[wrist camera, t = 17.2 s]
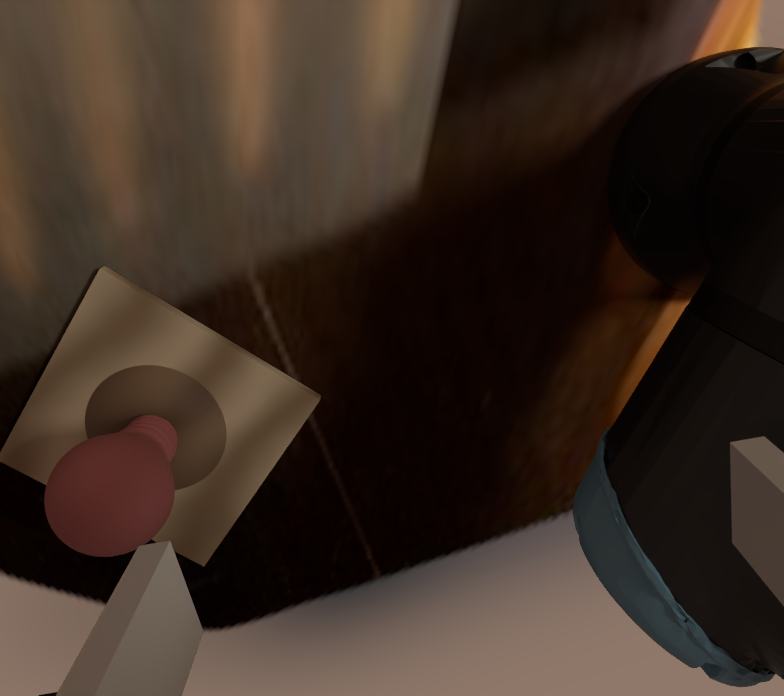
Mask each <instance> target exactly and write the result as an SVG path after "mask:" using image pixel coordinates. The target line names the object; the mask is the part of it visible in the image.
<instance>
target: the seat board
mask: <svg viewBox="0 0 784 696" xmlns="http://www.w3.org/2000/svg"><path fill="white" fill-rule="evenodd" d="M320 398H321V395H320V394H318V393H316V392H315V391H313V390H311V389H310V388H308V387H306V386H305V385H303V384H301V383H300V382H298V381H296V380H295V379H293V378H291V377H290V376H288V375H286V374H285V373H283V372H281V371H280V370H278V369H276V368H275V367H273V366H271V365H270V364H268V363H266V362H265V361H263V360H261V359H260V358H258V357H256V356H255V355H253V354H251V353H250V352H248V351H246V350H245V349H243V348H241V347H240V346H238V345H236V344H234V343H233V342H231V341H229V340H228V339H226V338H224V337H223V336H221V335H219V334H218V333H216V332H214V331H213V330H211V329H209V328H208V327H206V326H204V325H203V324H201V323H199V322H198V321H196V320H194V319H193V318H191V317H189V316H188V315H186V314H184V313H183V312H181V311H179V310H178V309H176V308H174V307H173V306H171V305H169V304H168V303H166V302H164V301H163V300H161V299H159V298H158V297H156V296H154V295H153V294H151V293H149V292H148V291H146V290H144V289H143V288H141V287H139V286H138V285H136V284H134V283H133V282H131V281H129V280H128V279H126V278H124V277H123V276H121V275H119V274H118V273H116V272H114V271H113V270H111V269H109V268H108V267H106V266H103V267H102V268H100V269H99V271H98V273H97V275H96V277H95V278H94V280H93V282H92V284H91V286H90V288H89V289H88V291H87V293H86V295H85V297H84V299H83V301H82V302H81V304H80V306H79V308H78V310H77V312H76V313H75V315H74V317H73V319H72V321H71V323H70V325H69V326H68V328H67V330H66V332H65V334H64V336H63V338H62V339H61V341H60V343H59V345H58V347H57V349H56V350H55V352H54V354H53V356H52V358H51V360H50V362H49V363H48V365H47V367H46V369H45V371H44V373H43V374H42V376H41V378H40V380H39V382H38V384H37V386H36V387H35V389H34V391H33V393H32V395H31V397H30V399H29V400H28V402H27V404H26V406H25V408H24V410H23V411H22V413H21V415H20V417H19V419H18V421H17V423H16V424H15V426H14V428H13V430H12V432H11V434H10V435H9V437H8V439H7V441H6V443H5V445H4V447H3V448H2V450H1V452H0V462H2V463H4V464H6V465H8V466H10V467H12V468H14V469H16V470H18V471H20V472H22V473H24V474H26V475H27V476H29V477H31V478H33V479H35V480H37V481H39V482H41V483H43V484H45V485H47V482H48V479H49V476H50V474H51V472H52V471H53V469H54V467H55V466H56V464H57V463H58V461H59V460H60V459H61V458H62V457H63V456H64V455H65V454H66V453H67V452H68V451H69V450H71V449H72V448H73V447H75V446H76V445H78V444H80V443H81V442H83V441H85V440H88V439H90V438H93V437H96V436H100V435H106V434H112V433H118V432H120V431H121V430H123V429H125V428H126V427H127V426H128V425H129V424H131V422H132V421H133V420H135V419H136V418H138V417H141V416H144V415H155V416H158V417H161V418H163V419H165V420H166V421H168V422H169V423H170V424H171V425H172V426H173V428H174V430H175V431H176V434H177V439H178V443H177V449H176V452H175V454H174V456H173V458H172V460H171V462H170V467H171V471H172V474H173V478H174V484H175V494H174V502H173V506H172V509H171V512H170V515H169V517H168V519H167V520H166V522H165V524H164V525H163V527H162V528H161V530H160V531H159V532H158V533H157V534H156V535H155V536H154V537H153V538H152V540H154V541H155V542H157V543H159V542H165V541H170V542H171V544H172V547H173V550H174V551H175V552H177V553H179V554H181V555H183V556H185V557H186V558H188V559H190V560H192V561H194V562H196V563H198V564H200V565H202V566H205V564H206V563H207V562H208V560H209V559H210V557H211V556H212V554H213V553H214V551H215V550H216V549H217V547H218V546H219V544H220V543H221V541H222V540H223V539H224V537H225V536H226V534H227V533H228V531H229V530H230V529H231V527H232V526H233V524H234V523H235V521H236V520H237V519H238V517H239V516H240V514H241V513H242V511H243V510H244V508H245V507H246V506H247V504H248V503H249V501H250V500H251V498H252V497H253V496H254V494H255V493H256V491H257V490H258V488H259V487H260V486H261V484H262V483H263V481H264V480H265V478H266V477H267V476H268V474H269V473H270V471H271V470H272V468H273V467H274V465H275V464H276V463H277V461H278V460H279V458H280V457H281V455H282V454H283V453H284V451H285V450H286V448H287V447H288V445H289V444H290V443H291V441H292V440H293V438H294V437H295V435H296V434H297V432H298V431H299V430H300V428H301V427H302V425H303V424H304V422H305V421H306V420H307V418H308V417H309V415H310V414H311V412H312V411H313V410H314V408H315V407H316V405H317V404H318V402H319V401H320Z"/></svg>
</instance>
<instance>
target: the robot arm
mask: <svg viewBox="0 0 784 696" xmlns="http://www.w3.org/2000/svg"><path fill="white" fill-rule="evenodd" d="M608 198H609V208H610V214H611V218H612V222H613V225H614V228H615V231H616V233H617V236H618V238H619V240H620V242H621V243H622V245H623V247H624V248H625V250H626V251H627V253H628V254H629V255H630V257H631V258H632V259H633V260H634V261H635V262H636V263H637V264H638V265H639V266H640V267H641V268H642V269H643V270H645V271H646V272H647V273H649V274H650V275H652V276H653V277H655V278H656V279H658V280H660V281H661V282H663V283H665V284H666V285H668V286H670V287H672V288H674V289H676V290H679V291H681V292H684V293H687V294H691V295H694V296H693V298H692V300H691V301H690V303H689V304H688V305H687V306H686V308H685V309H684V311H683V313H682V314H681V316H680V317H679V319H678V321H677V322H676V324H675V326H674V327H673V329H672V330H671V332H670V334H669V335H668V337H667V339H666V340H665V342H664V343H663V345H662V347H661V348H660V350H659V352H658V353H657V355H656V356H655V358H654V360H653V361H652V363H651V364H650V366H649V368H648V369H647V371H646V373H645V374H644V376H643V377H642V379H641V381H640V382H639V384H638V386H637V387H636V389H635V390H634V392H633V394H632V395H631V397H630V398H629V400H628V402H627V403H626V405H625V407H624V408H623V410H622V411H621V413H620V415H619V416H618V418H617V420H616V421H615V423H614V424H613V426H612V427H608V428H607V429H606V430H605V432H604V433H603V434H602V436H601V438H600V440H599V444H598V449H597V453H596V455H595V457H594V458H593V460H592V462H591V464H590V466H589V468H588V470H587V472H586V473H585V475H584V477H583V479H582V481H581V483H580V485H579V486H578V489H577V491H576V494H575V498H574V504H573V516H574V522H575V526H576V530H577V532H578V534H579V540H580V545H581V547H582V549H583V552H584V554H585V556H586V558H587V560H588V562H589V563H590V565H591V567H592V569H593V570H594V572H595V574H596V575H597V577H598V578H599V580H600V581H601V583H602V584H603V585H604V587H605V588H606V589H607V591H608V592H609V594H610V595H611V596H612V597H613V599H614V600H615V601H616V602H617V603H618V604H619V606H620V607H621V608H622V609H623V610H624V611H625V612H626V614H628V616H629V617H630V618H631V619H632V620H633V621H634V622H635V623H636V624H637V625H638V626H639V627H640V628H641V629H642V630H643V631H644V632H645V633H646V634H647V635H648V636H649V637H650V638H652V639H653V640H654V641H655V642H656V643H657V644H659V645H660V646H661V647H662V648H664V649H665V650H666V651H667V652H669V653H670V654H671V655H673V656H674V657H676V658H677V659H679V660H680V661H682V662H683V663H685V664H686V665H688V666H689V667H691V668H697V667H701V668H702V669H703V670H704V672H705V673H706V674H707V675H708V676H709V677H710V678H711V679H713V680H716V681H718V682H721V683H724V684H727V685H730V686H737V687H748V686H752V685H756V684H757V683H760V682H766V681H769V680H771V679H772V677H773V676H774V675H775V674H777V675H778V676H780V677H781V678H782V679H784V49H781V48H773V47H752V48H744V49H737V50H731V51H726V52H721V53H717V54H713V55H709V56H707V57H704V58H701V59H699V60H696V61H694V62H692V63H690V64H688V65H686V66H684V67H682V68H681V69H679V70H678V71H676V72H674V73H673V74H672V75H670V76H669V77H667V78H666V79H665V80H664V81H662V82H661V83H660V84H659V85H658V86H657V87H656V88H654V89H653V90H652V91H651V92H650V93H649V94H648V96H647V97H646V98H645V99H644V100H643V101H642V102H641V104H640V105H639V106H638V107H637V109H636V110H635V112H634V113H633V114H632V116H631V118H630V119H629V121H628V123H627V124H626V126H625V128H624V130H623V132H622V134H621V136H620V138H619V141H618V143H617V146H616V149H615V152H614V155H613V159H612V163H611V167H610V174H609V184H608ZM202 634H203V629H202V627H201V624H200V621H199V618H198V616H197V613H196V610H195V607H194V605H193V602H192V599H191V596H190V594H189V591H188V588H187V585H186V583H185V580H184V577H183V574H182V572H181V569H180V566H179V563H178V561H177V558H176V555H175V553H174V550H173V547H172V544H171V542H170V541H165V542H159V543H153V544H147V545H142V546H139V547H138V548H137V550H136V552H135V554H134V556H133V557H132V559H131V561H130V563H129V565H128V566H127V568H126V570H125V572H124V574H123V575H122V577H121V579H120V581H119V583H118V585H117V586H116V588H115V590H114V592H113V594H112V595H111V597H110V599H109V601H108V603H107V604H106V606H105V608H104V610H103V612H102V613H101V615H100V617H99V619H98V621H97V622H96V624H95V626H94V628H93V630H92V631H91V633H90V635H89V637H88V639H87V640H86V642H85V644H84V646H83V648H82V649H81V651H80V653H79V655H78V657H77V658H76V660H75V662H74V664H73V666H72V667H71V669H70V671H69V673H68V675H67V676H66V678H65V680H64V682H63V684H62V685H61V687H60V689H59V691H58V692H56V693H50V694H44V695H39V696H182V693H183V690H184V687H185V684H186V681H187V678H188V675H189V672H190V669H191V666H192V663H193V661H194V658H195V655H196V652H197V649H198V646H199V643H200V640H201V637H202Z"/></svg>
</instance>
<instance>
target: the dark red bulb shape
mask: <svg viewBox="0 0 784 696" xmlns="http://www.w3.org/2000/svg"><path fill="white" fill-rule="evenodd" d="M177 443H178V439H177V434H176V431H175V430H174V428H173V426H172V425H171V424H170V423H169V422H168V421H166V420H165V419H163V418H161V417H158V416H155V415H144V416H141V417H138V418H136V419H135V420H133V421H132V422H131V424H129V425H128V426H127V427H126V428H125V429H123V430H121V431H120V432H118V433H112V434H106V435H100V436H96V437H93V438H90V439H88V440H85V441H83V442H81V443H80V444H78V445H76V446H75V447H73V448H72V449H71V450H69V451H68V452H67V453H66V454H65V455H64V456H63V457H62V458H61V459H60V460H59V461H58V463H57V464H56V466H55V467H54V469H53V471H52V472H51V474H50V476H49V479H48V482H47V485H46V490H45V498H44V502H45V511H46V515H47V519H48V522H49V524H50V526H51V528H52V530H53V531H54V533H55V534H56V535H57V536H58V537H59V539H60V540H61V541H62V542H64V543H65V544H66V545H67V546H69V547H71V548H72V549H74V550H76V551H78V552H80V553H83V554H87V555H91V556H98V557H111V556H117V555H122V554H125V553H128V552H131V551H133V550H135V549H137V548H138V547H139V546H142V545H144V544H146V543H147V542H148V541H150V540H151V539H152V538H153V537H154V536H155V535H156V534H157V533H158V532H159V531H160V530H161V528H162V527H163V525H164V524H165V522H166V520H167V519H168V517H169V515H170V512H171V509H172V506H173V502H174V494H175V484H174V478H173V474H172V471H171V467H170V462H171V460H172V458H173V456H174V454H175V452H176V449H177Z"/></svg>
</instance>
